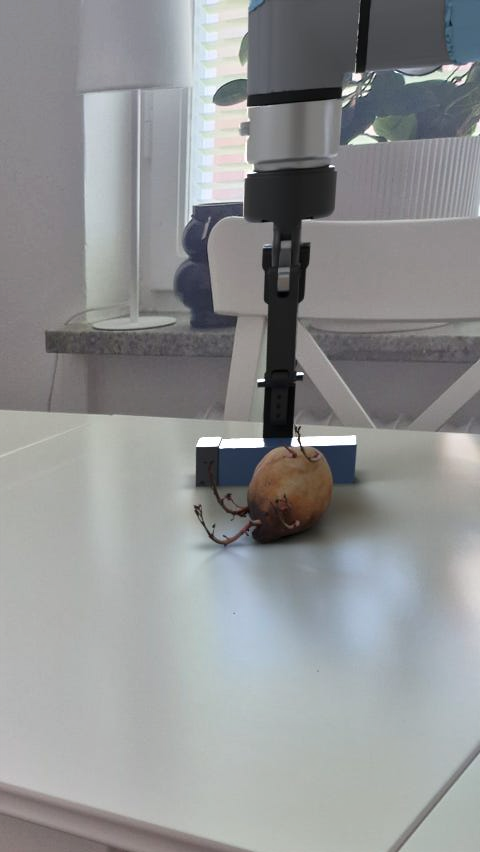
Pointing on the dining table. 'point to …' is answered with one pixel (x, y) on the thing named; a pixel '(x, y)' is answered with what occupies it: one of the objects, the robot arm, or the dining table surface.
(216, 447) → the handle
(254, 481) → the vegetable
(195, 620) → the dining table surface
